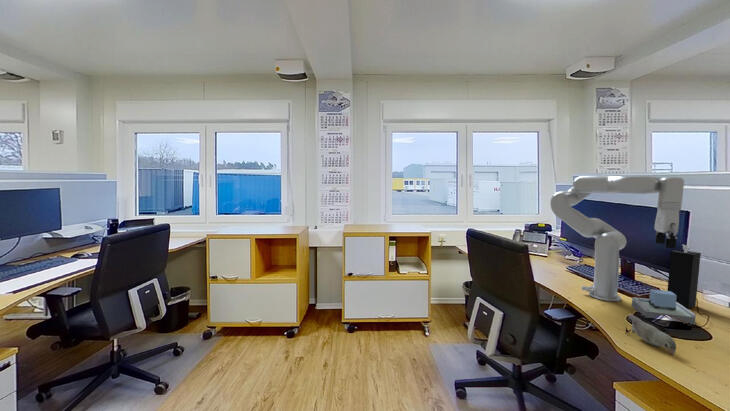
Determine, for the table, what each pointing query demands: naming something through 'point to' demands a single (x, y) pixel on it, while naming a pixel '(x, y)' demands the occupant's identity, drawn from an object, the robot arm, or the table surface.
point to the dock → (663, 310)
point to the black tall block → (684, 276)
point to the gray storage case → (662, 299)
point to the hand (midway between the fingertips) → (664, 245)
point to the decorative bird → (652, 334)
